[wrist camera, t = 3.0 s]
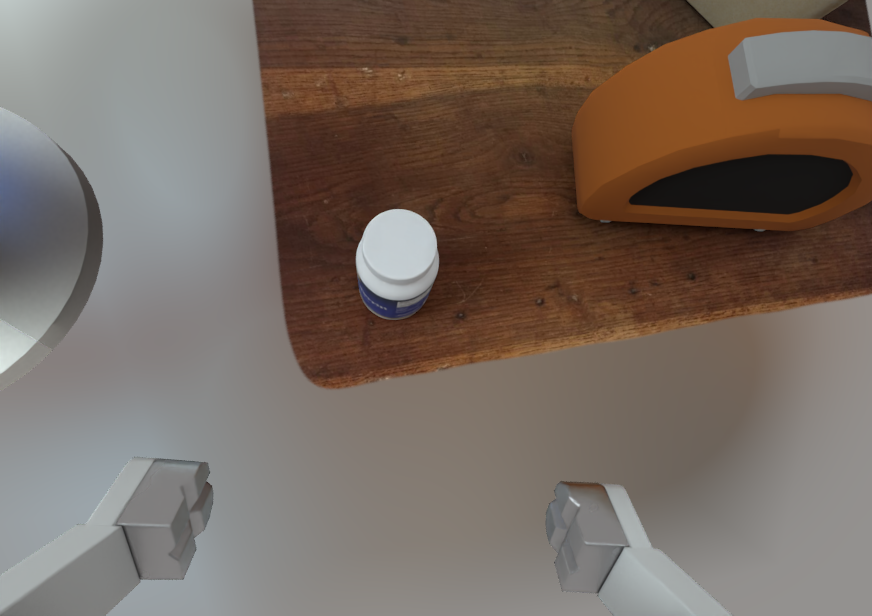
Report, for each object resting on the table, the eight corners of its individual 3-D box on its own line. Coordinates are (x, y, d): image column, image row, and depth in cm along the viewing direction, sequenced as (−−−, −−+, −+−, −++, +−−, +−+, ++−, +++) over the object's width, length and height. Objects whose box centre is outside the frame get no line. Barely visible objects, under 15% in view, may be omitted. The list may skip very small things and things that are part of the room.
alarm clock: (562, 226, 41) (681, 101, 25) (556, 138, 44) (661, -29, 28) (797, 239, 44) (1037, 134, 28) (780, 156, 46) (994, 14, 30)
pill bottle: (346, 276, 38) (335, 226, 28) (405, 243, 39) (414, 184, 30) (382, 334, 37) (385, 303, 27) (441, 299, 38) (463, 258, 29)
